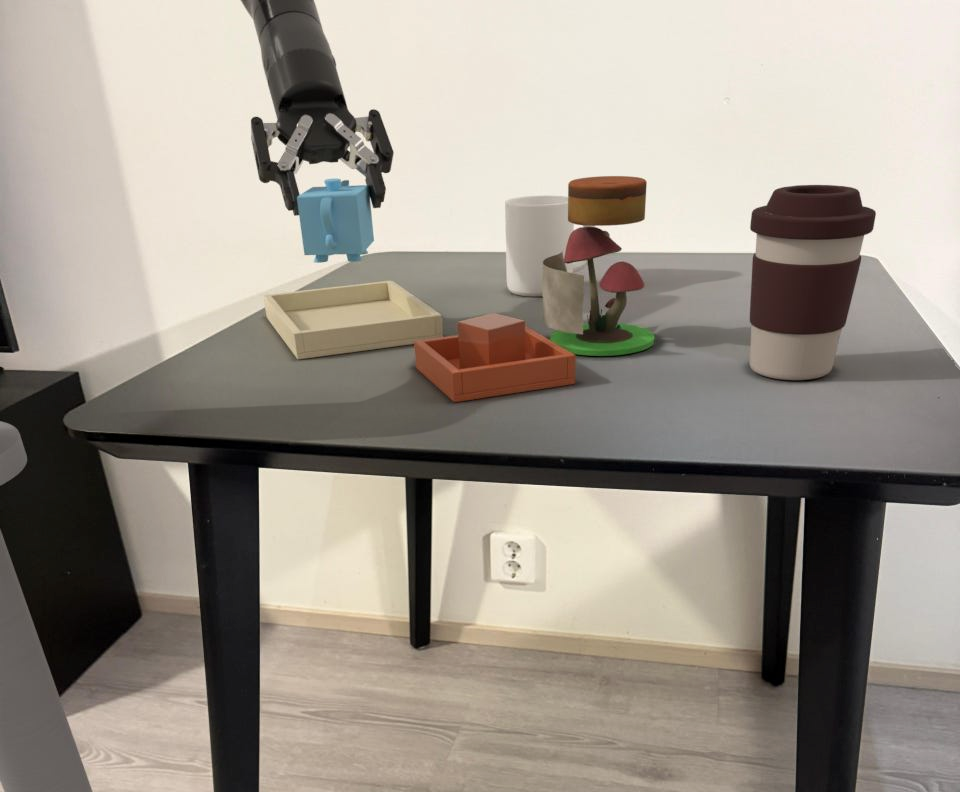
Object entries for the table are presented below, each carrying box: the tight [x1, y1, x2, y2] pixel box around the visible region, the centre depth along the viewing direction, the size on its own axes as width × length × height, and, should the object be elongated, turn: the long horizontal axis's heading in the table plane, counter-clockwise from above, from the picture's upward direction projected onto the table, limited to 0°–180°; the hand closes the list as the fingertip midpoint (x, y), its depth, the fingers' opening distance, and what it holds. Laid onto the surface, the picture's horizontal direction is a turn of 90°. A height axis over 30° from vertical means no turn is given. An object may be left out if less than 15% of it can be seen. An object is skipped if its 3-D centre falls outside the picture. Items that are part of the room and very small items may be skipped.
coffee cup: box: [749, 184, 877, 381], centre depth 80 cm, size 10×10×15 cm
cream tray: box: [262, 280, 444, 360], centre depth 103 cm, size 16×20×3 cm
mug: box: [504, 195, 596, 298], centre depth 114 cm, size 12×8×10 cm
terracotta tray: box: [413, 325, 577, 403], centre depth 86 cm, size 12×12×3 cm
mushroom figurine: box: [542, 175, 655, 357], centre depth 91 cm, size 12×13×15 cm
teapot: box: [297, 178, 375, 264], centre depth 97 cm, size 12×6×8 cm, turn 176°
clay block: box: [457, 312, 526, 369], centre depth 85 cm, size 4×4×4 cm
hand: (338, 206), depth 96 cm, fingers closed on teapot, 8 cm apart
